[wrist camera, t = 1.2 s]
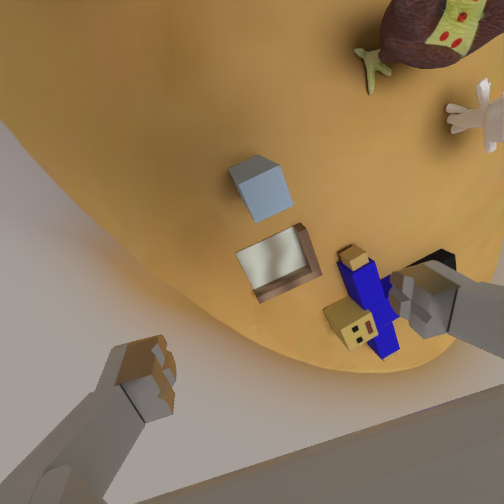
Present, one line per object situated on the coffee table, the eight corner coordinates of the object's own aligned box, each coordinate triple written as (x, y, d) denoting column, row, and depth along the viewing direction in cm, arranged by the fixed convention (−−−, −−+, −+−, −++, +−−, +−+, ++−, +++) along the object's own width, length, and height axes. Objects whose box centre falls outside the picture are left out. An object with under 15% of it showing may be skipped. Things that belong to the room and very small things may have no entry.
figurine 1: (423, 84, 39) (610, 48, 21) (331, 102, 38) (447, 79, 20) (434, -12, 34) (691, -166, 16) (328, 4, 33) (480, -142, 15)
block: (241, 198, 41) (255, 223, 31) (228, 168, 39) (238, 184, 28) (269, 185, 41) (293, 205, 31) (258, 154, 39) (279, 165, 28)
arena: (256, 294, 50) (259, 303, 47) (235, 252, 45) (237, 260, 43) (315, 267, 50) (322, 274, 47) (300, 222, 45) (306, 228, 42)
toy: (469, 322, 57) (364, 384, 57) (441, 304, 63) (346, 360, 63) (460, 205, 43) (321, 286, 43) (425, 197, 50) (304, 267, 49)
